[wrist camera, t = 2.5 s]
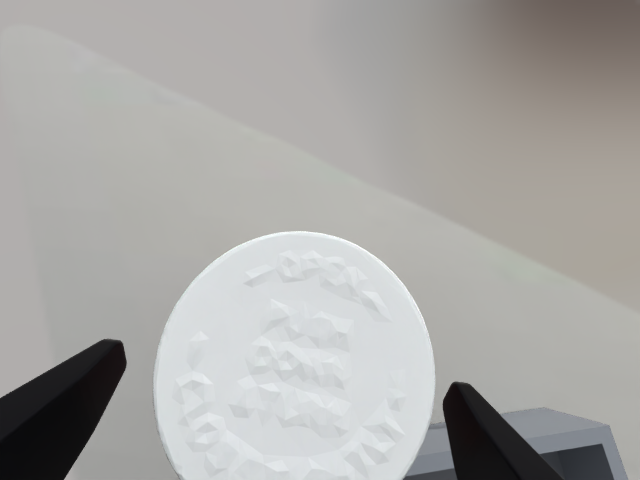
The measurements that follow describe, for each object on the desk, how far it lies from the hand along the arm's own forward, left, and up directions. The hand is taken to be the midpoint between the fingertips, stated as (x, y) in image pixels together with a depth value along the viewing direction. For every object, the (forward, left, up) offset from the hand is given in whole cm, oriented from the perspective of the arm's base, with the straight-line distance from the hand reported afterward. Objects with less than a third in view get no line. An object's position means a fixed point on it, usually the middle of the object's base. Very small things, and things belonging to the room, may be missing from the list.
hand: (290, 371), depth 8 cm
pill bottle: (0, 0, -8) cm, 8 cm away
